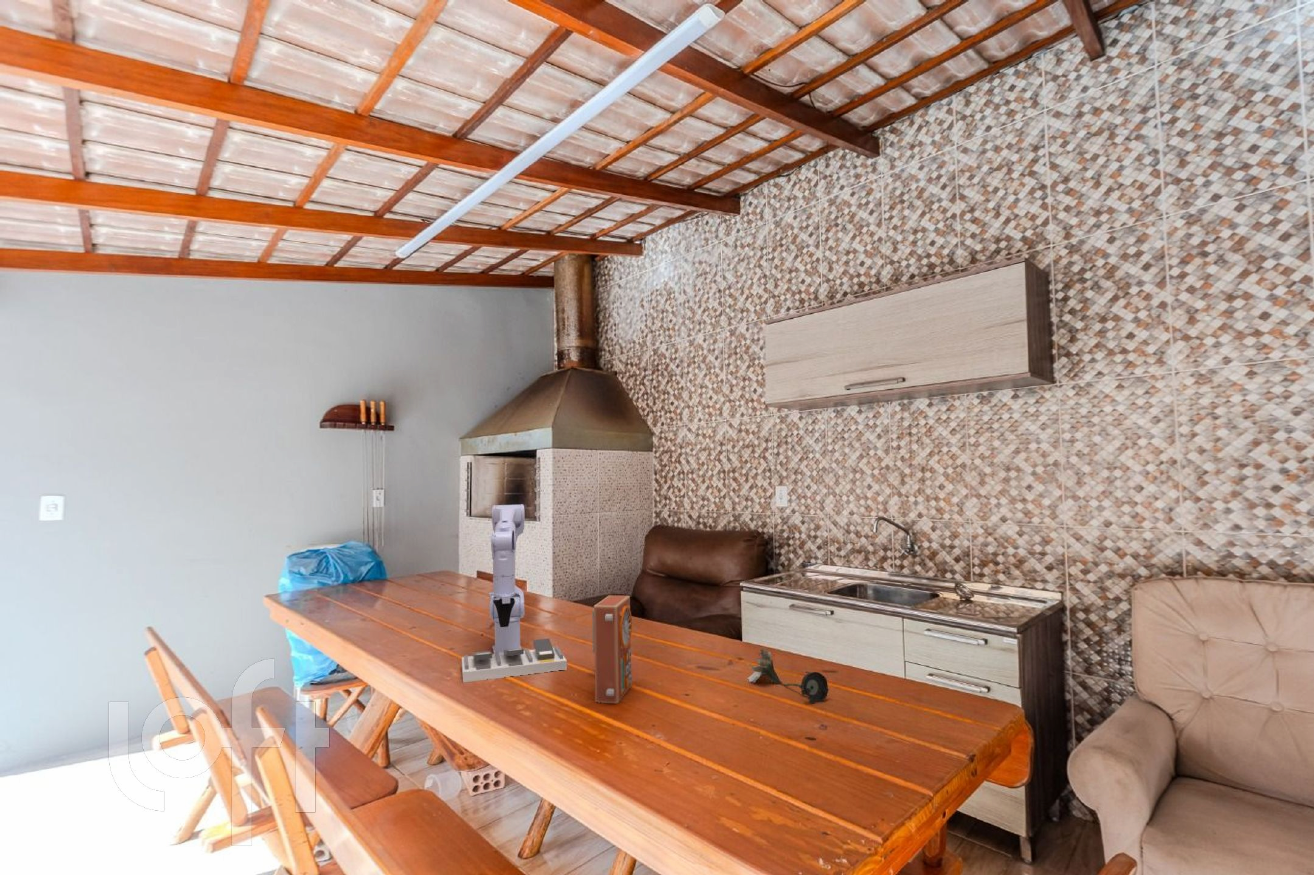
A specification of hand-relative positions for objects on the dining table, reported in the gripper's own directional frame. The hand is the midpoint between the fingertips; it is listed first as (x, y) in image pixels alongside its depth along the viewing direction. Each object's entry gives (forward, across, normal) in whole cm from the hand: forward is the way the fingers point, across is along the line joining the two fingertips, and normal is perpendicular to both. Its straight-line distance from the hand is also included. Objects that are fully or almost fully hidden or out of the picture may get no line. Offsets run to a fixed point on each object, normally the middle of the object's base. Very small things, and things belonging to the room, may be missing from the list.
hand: (504, 626), depth 173 cm
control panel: (+11, +32, +22) cm, 41 cm away
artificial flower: (+12, +44, +60) cm, 75 cm away
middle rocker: (+6, +3, +2) cm, 7 cm away
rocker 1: (+6, +3, -6) cm, 9 cm away
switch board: (+10, +3, +2) cm, 11 cm away
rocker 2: (+6, +3, +10) cm, 12 cm away
